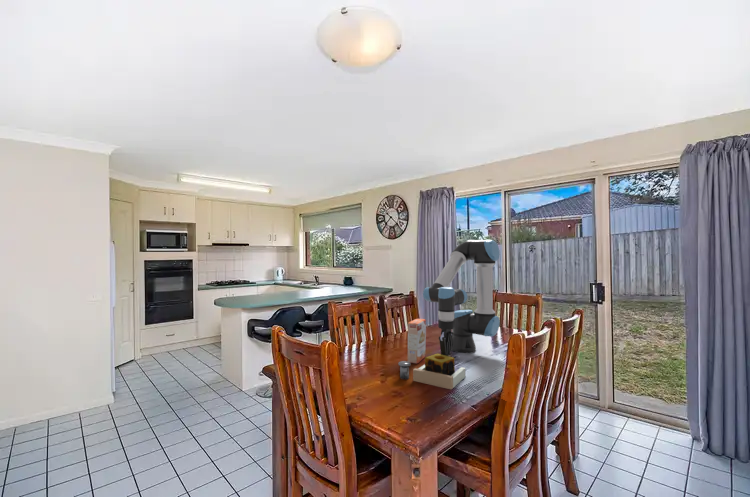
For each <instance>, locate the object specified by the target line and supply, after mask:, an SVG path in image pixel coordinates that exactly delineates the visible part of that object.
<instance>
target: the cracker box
mask: <svg viewBox="0 0 750 497" xmlns="http://www.w3.org/2000/svg"><path fill="white" fill-rule="evenodd" d="M426 337H427V320H426V319H425V318H415V319H413V320H411V321H409V322H408V323H407V361H408V362H410V363H411V364H418V363H420V362H421V361H423V359H425V357H426V352H427V350H426V348H427V346H426V343H427V342H426V341H427V340H426V339H427V338H426Z"/></svg>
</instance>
